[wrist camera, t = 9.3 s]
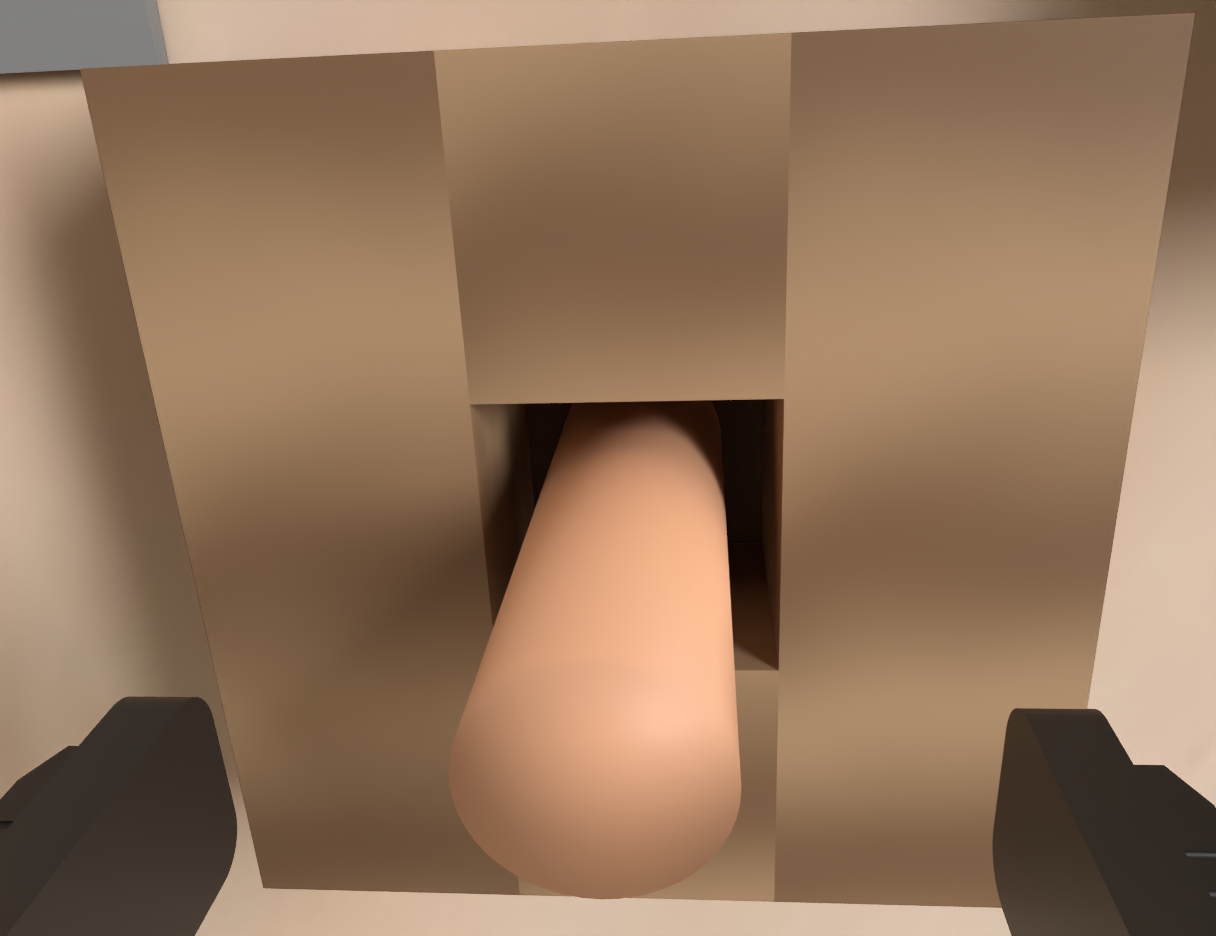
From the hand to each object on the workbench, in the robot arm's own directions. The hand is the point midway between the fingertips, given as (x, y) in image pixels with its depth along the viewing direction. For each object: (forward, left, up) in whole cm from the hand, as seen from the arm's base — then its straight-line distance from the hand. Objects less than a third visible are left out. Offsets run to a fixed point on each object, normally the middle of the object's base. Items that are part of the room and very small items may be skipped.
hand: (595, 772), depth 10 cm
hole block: (0, 0, -10) cm, 10 cm away
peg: (0, 0, -10) cm, 10 cm away
